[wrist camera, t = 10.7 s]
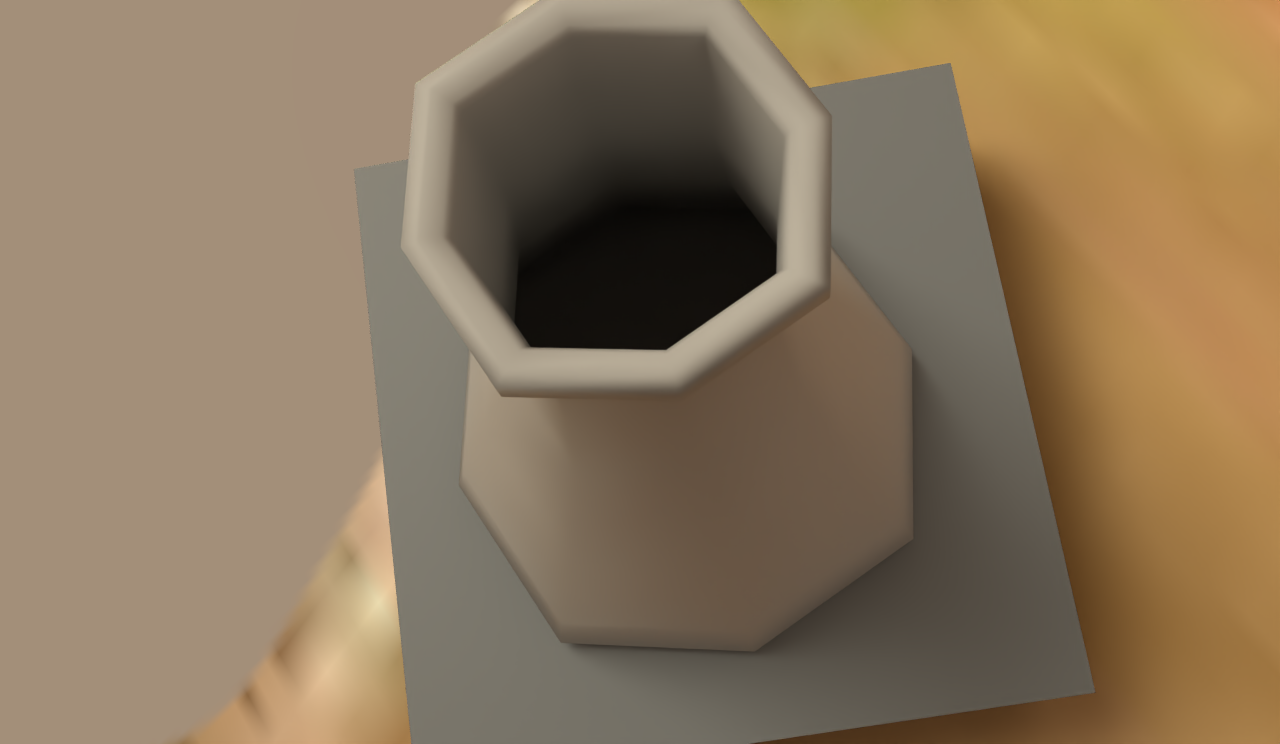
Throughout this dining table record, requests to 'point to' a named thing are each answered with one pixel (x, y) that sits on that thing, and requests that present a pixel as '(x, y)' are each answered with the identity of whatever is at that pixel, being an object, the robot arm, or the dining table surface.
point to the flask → (657, 324)
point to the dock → (848, 621)
